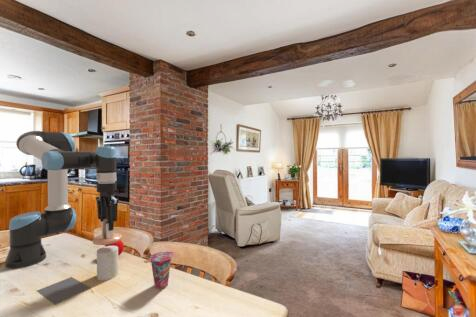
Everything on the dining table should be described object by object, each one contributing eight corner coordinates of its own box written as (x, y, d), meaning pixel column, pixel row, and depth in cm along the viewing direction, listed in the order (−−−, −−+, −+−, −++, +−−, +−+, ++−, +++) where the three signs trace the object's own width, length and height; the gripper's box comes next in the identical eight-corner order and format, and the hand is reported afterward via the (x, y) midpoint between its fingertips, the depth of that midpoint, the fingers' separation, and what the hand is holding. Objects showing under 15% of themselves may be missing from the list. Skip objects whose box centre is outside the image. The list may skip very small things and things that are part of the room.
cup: (164, 293, 91) (163, 262, 91) (145, 289, 94) (145, 258, 94) (177, 280, 100) (177, 252, 100) (160, 277, 103) (160, 249, 103)
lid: (87, 241, 101) (87, 220, 101) (113, 234, 111) (112, 214, 110) (101, 247, 95) (101, 224, 95) (127, 238, 105) (126, 217, 104)
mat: (36, 292, 92) (36, 290, 92) (71, 278, 102) (71, 276, 102) (55, 306, 84) (54, 304, 84) (91, 289, 94) (91, 288, 94)
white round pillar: (109, 282, 99) (108, 253, 98) (92, 280, 100) (92, 252, 100) (122, 273, 107) (122, 246, 106) (106, 271, 108) (106, 245, 108)
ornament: (123, 258, 121) (123, 239, 121) (103, 261, 118) (103, 241, 117) (124, 251, 129) (124, 233, 129) (105, 254, 126) (105, 235, 126)
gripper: (87, 182, 104) (88, 236, 104) (108, 184, 95) (109, 243, 96) (105, 180, 110) (105, 231, 110) (126, 182, 101) (126, 237, 102)
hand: (107, 236), depth 103 cm, fingers closed on lid, 3 cm apart
